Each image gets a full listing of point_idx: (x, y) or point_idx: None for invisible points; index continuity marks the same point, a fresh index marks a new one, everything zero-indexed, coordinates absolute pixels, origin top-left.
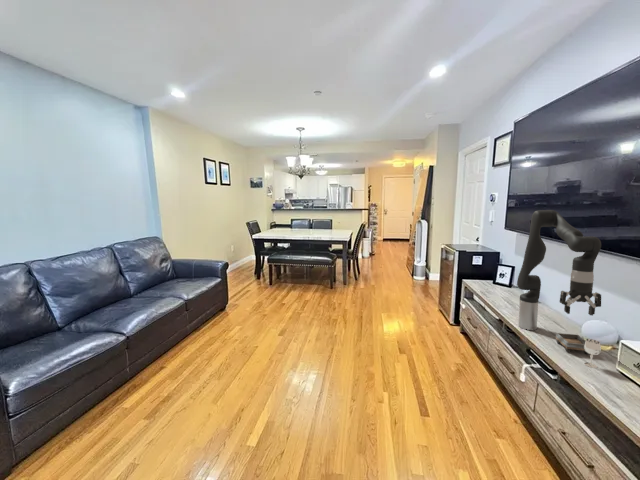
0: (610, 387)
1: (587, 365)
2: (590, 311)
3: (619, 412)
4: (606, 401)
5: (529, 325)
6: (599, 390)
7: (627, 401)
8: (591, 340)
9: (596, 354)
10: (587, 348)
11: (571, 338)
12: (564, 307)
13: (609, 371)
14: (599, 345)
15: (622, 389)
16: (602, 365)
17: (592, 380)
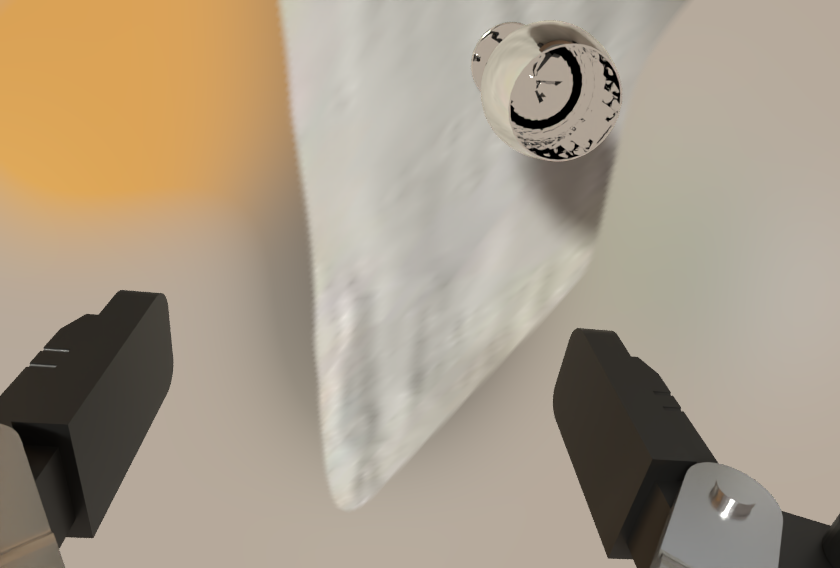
0: (440, 311)
1: (477, 78)
2: (582, 435)
3: (346, 470)
4: (340, 418)
5: None
6: (364, 346)
7: (435, 402)
8: (590, 43)
9: (536, 132)
10: (487, 116)
11: None
12: (13, 385)
13: None
14: (583, 151)
15: (489, 318)
16: None
17: (388, 261)
